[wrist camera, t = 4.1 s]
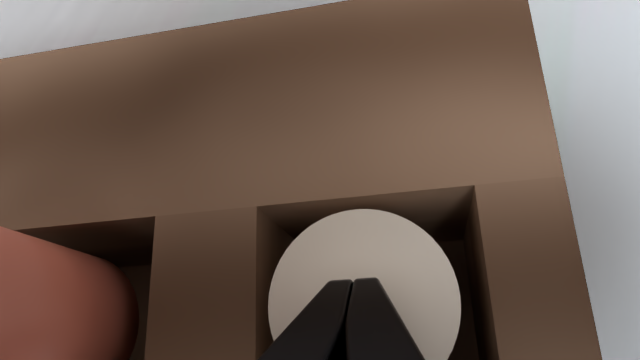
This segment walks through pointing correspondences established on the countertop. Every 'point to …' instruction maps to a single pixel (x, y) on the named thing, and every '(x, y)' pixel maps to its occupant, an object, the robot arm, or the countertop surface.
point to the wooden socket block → (302, 165)
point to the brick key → (62, 303)
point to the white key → (372, 274)
